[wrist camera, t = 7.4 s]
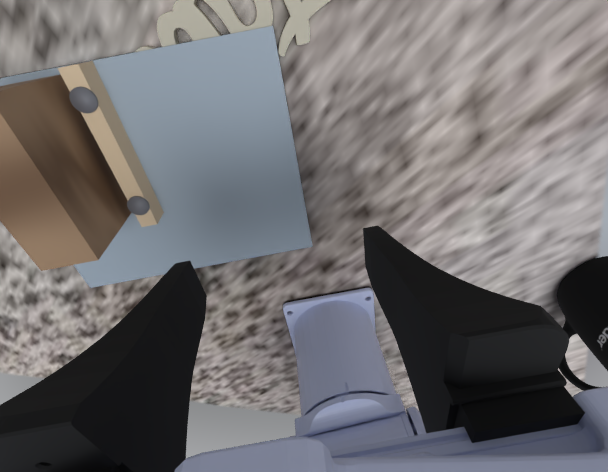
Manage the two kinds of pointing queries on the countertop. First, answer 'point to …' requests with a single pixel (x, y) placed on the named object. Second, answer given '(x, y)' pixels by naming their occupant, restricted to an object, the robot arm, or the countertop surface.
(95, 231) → the brown square box
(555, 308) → the countertop surface
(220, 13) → the decorative sign
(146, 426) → the robot arm
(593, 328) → the mug
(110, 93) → the blue flat mat
